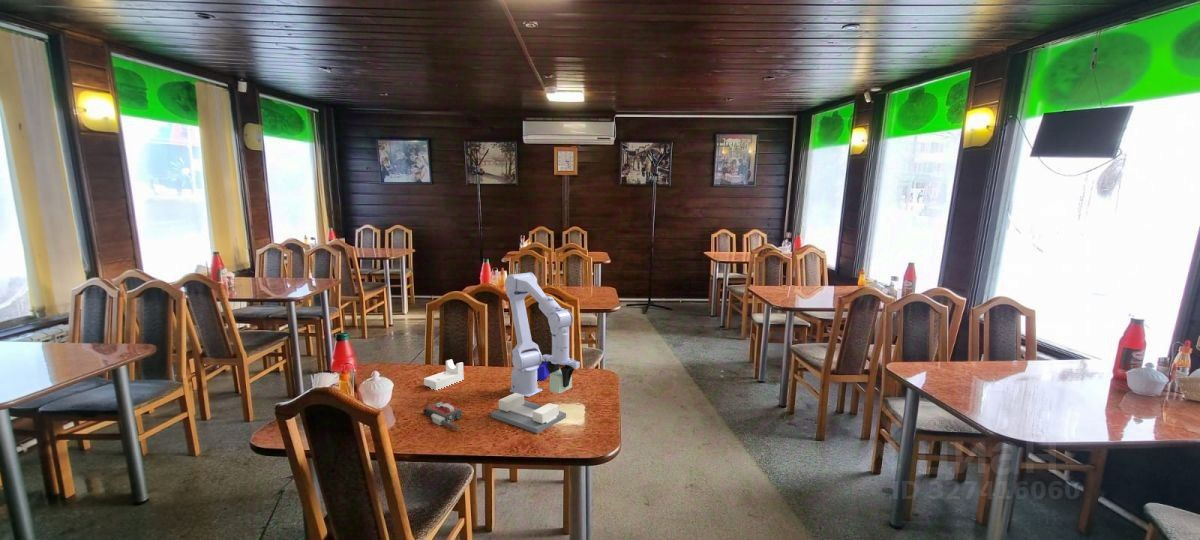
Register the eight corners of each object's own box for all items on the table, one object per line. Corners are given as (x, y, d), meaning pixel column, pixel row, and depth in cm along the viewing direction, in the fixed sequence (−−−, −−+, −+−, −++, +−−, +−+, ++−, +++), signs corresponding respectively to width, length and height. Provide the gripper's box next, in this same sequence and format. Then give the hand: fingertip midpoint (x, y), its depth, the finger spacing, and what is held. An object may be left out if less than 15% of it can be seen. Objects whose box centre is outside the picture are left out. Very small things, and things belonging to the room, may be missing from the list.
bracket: (451, 377, 200) (451, 359, 199) (463, 381, 196) (463, 362, 195) (424, 387, 189) (423, 368, 188) (436, 391, 185) (435, 371, 184)
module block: (549, 391, 167) (549, 373, 167) (562, 384, 173) (562, 368, 172) (559, 393, 165) (559, 376, 164) (571, 387, 171) (571, 370, 170)
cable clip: (542, 370, 208) (541, 356, 208) (552, 371, 208) (552, 357, 207) (533, 380, 197) (533, 366, 196) (544, 381, 196) (544, 366, 195)
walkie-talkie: (417, 416, 164) (455, 434, 152) (416, 404, 163) (455, 420, 151) (440, 408, 171) (478, 424, 159) (439, 395, 170) (478, 410, 158)
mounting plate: (491, 417, 163) (490, 402, 162) (520, 403, 174) (520, 389, 174) (537, 433, 152) (537, 418, 151) (565, 417, 163) (565, 403, 163)
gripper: (536, 345, 168) (536, 384, 170) (570, 352, 160) (570, 393, 162) (549, 340, 174) (549, 378, 175) (583, 347, 166) (583, 386, 167)
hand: (560, 385), depth 169 cm, fingers closed on module block, 4 cm apart
